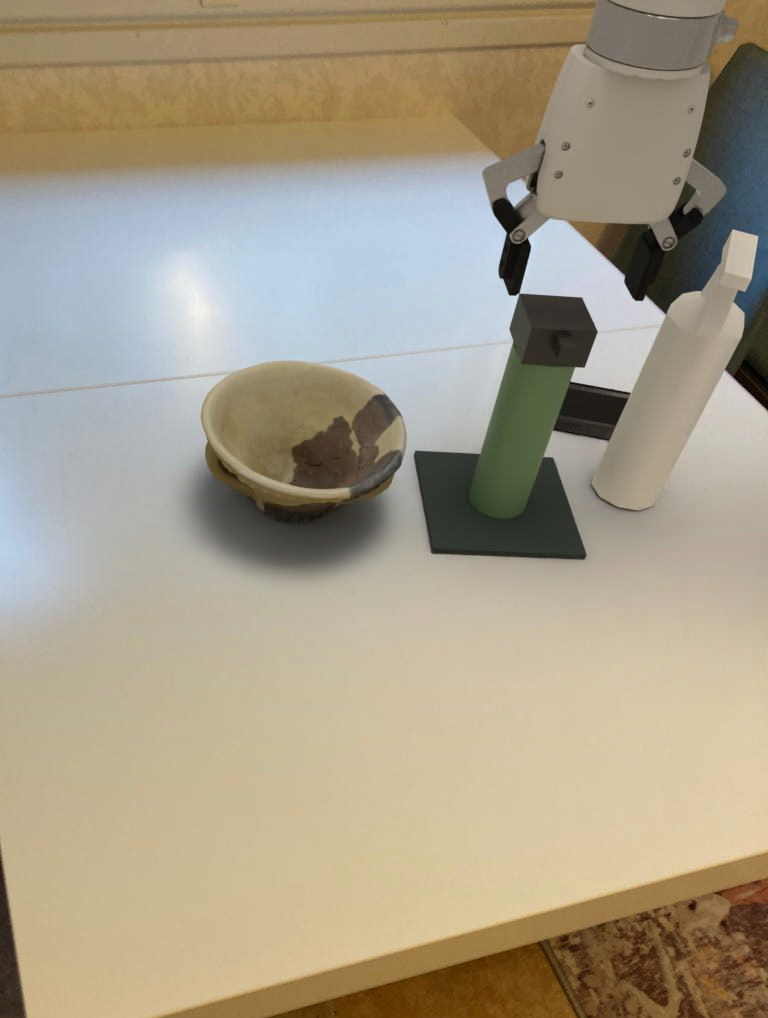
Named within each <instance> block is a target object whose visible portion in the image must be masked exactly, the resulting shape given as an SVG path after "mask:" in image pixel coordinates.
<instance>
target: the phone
mask: <svg viewBox="0 0 768 1018" xmlns="http://www.w3.org/2000/svg"><path fill="white" fill-rule="evenodd" d="M630 394H631V392H630V391H624V390H618V389H613V388H609V387H603V386H596V385H593V384H587V383H580V382H576V381H570V384H569V387H568V389H567V392H566V395H565V398H564V401H563V403H562V406H561V409H560V412H559V415H558V417H557V420H556V423H555V426H554V429H553V430H558V431H563V432H568V433H575V434H579V435H580V434H581V435H585V436H589V437H590V436H591V437H595V438H601V439H607V440H610V439H611V436H612V434H613V432H614V430H615V427H616V425H617V423H618V421H619V419H620V416H621V414H622V412H623V410H624V407H625V405H626V403H627V401H628V399H629V396H630Z"/></svg>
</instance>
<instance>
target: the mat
mask: <svg viewBox="0 0 768 1018" xmlns="http://www.w3.org/2000/svg"><path fill="white" fill-rule="evenodd" d="M479 456H480V453H473V452H472V453H471V452H455V451H454V452H452V451H432V450H414V454H413V457H414V463H415V468H416V472H417V473H416V475H417V478H418V484H419V489H420V494H421V499H422V500H421V501H422V505H423V510H424V511H423V512H424V516H425V522H426V527H427V532H428V538H429V543H430V548H431V553H432V554H450V555H452V554H453V555H472V556H473V555H474V556H475V555H476V556H495V557H496V556H497V557H499V556H501V557H520V558H521V557H522V558H547V559H573V560H576V559H577V560H585V559H586V557H587V552H586V549H585V545H584V543H583V540H582V536H581V534H580V531H579V528H578V525H577V523H576V520H575V516H574V514H573V510H572V508H571V505H570V502H569V498H568V496H567V493H566V490H565V488H564V484H563V482H562V479H561V476H560V473H559V471H558V467H557V463H556V461H555V458H554V457H552V456H551V457H550V456H543V459H542V462H541V465H540V468H539V470H538V473H537V476H536V479H535V482H534V484H533V487H532V490H531V493H530V496H529V498H528V501H527V504H526V507H525V509H524V511H523V512H522V513H521V514H520V515H519V516H517V517H514V518H510V519H497V518H492V517H489V516H486V515H484V514H482V513H480V512H479V511H478V510H476V509H475V508H474V507H473V506H472V504H471V503H470V500H469V490H470V487H471V484H472V480H473V477H474V473H475V470H476V467H477V463H478V460H479Z"/></svg>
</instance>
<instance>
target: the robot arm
mask: <svg viewBox="0 0 768 1018" xmlns="http://www.w3.org/2000/svg"><path fill="white" fill-rule="evenodd" d="M726 2H727V0H596V2H595V5H594V10H593V13H592V18H591V20H590V25H589V29H588V33H587V36H586V41H585V44H584V43H583V44H582V43H581V44H574V45H573V46H571V48H570V49H569V52H568V54H567V56H566V58H565V61H564V63H563V64H562V67H561V70H560V71H559V74H558V76H557V79H556V82H555V84H554V87H553V90H552V92H551V95H550V97H549V100H548V102H547V106H546V108H545V112H544V114H543V118H542V121H541V123H540V127H539V129H538V132H537V136H536V139H535V142H534V145H533V146H531V147H529V148H526V149H524V150H521V151H520V152H517V153H515V154H512V155H511V156H509V157H506V158H503V159H501V160H499V161H497V162H494V163H493V164H489V165H488V166H486V167H484V169H483V170H482V172H481V176H482V181H483V185H484V188H485V192H486V195H487V199H488V203H489V206H490V208H491V212H492V213H493V216H494V217H495V219H496V220H497V222H498V223H499V224H500V226H501V227H502V229H503V230H504V232H505V233H506V234H505V238H504V243H503V246H502V251H501V254H500V259H499V263H498V273H497V274H498V277H499V279H500V280H503V283H504V286H505V289H506V292H507V294H508V296H510V297H511V296H513V297H514V296H515V297H517V296H518V295H519V294H520V293H521V290H522V286H523V282H524V278H525V275H526V271H527V266H528V263H529V259H530V255H531V251H532V245H531V242H530V240H529V238H530V237H531V236H532V235H533V234H535V232H536V231H538V230H539V229H540V228H541V227H542V226H543V225H544V224H546V223H547V222H548V221H549V220H556V221H566V222H583V223H584V222H585V223H602V224H603V223H605V224H625V225H626V224H627V225H647V227H648V229H647V231H642V232H641V235H640V234H639V235H638V238H637V241H636V244H635V246H634V250H633V253H632V255H631V259H630V261H629V264H628V267H627V270H626V273H625V276H624V280H623V283H624V285H625V287H626V289H627V291H628V293H629V294H630V296H631V298H632V299H633V300H634V301H635V302H643V301H644V300H645V298H646V295H647V292H648V290H649V287H650V286H653V285H654V284H655V283H656V280H657V277H658V274H659V273H660V272H659V271H660V269H661V267H662V263H663V261H664V258H665V255H666V252H667V251H671V250H673V249H674V248H675V247H676V246H677V244H678V240H680V239H682V238H683V237H684V236H686V235H687V234H689V233H690V232H692V231H693V230H694V229H696V228H698V226H699V225H701V224H702V222H703V220H704V217H705V216H706V214H709V213H710V212H711V211H712V209H714V208H715V206H716V205H717V204H718V203H719V202H720V201H721V200H722V198H723V197H724V196H725V195H726V194H727V190H728V189H727V186H726V185H725V184H724V182H723V181H722V180H721V179H720V178H719V177H718V176H716V175H715V174H714V173H713V172H712V171H710V170H709V169H708V168H706V167H705V166H704V165H702V164H701V163H700V162H699V161H697V160H696V159H695V158H694V154H695V151H696V148H697V144H698V140H699V135H700V132H701V127H702V123H703V119H704V115H705V109H706V104H707V99H708V93H709V87H710V80H711V73H712V67H711V65H710V63H708V61H707V59H710V56H711V54H712V51H713V49H714V46H715V45H720V44H721V43H727V44H729V43H731V42H732V41H733V40H734V39H735V37H736V35H737V31H738V27H739V20H738V18H737V17H733V16H730V17H729V16H727V14H726V10H725V9H724V7H725V5H726ZM524 178H525V188H526V190H527V191H528V192H529V193H528V194H526V195H525V196H524V197H523V198H522V199H521V200H520V201H519V202H517V203H516V204H515V205H513V204H512V202H511V201H510V199H508V193H507V188H508V186H509V185H510V184H512V183H514V182H516V181H519V180H521V179H524ZM685 183H687V184H688V185H690V186H691V187H692V188H694V190H695V192H694V194H693V195H692V196H691V197H690V198H691V199H690V200H689V201H686V202H684V203H683V204H681V205H680V206H679V207H678V208H676V207H677V204H678V202H679V199H680V197H681V195H682V192H683V189H684V186H685ZM675 208H676V209H675Z"/></svg>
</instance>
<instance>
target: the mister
mask: <svg viewBox="0 0 768 1018" xmlns="http://www.w3.org/2000/svg"><path fill="white" fill-rule="evenodd" d="M509 333H510V336H511V339H512V344H511V347H510V350H509V355H508V358H507V361H506V364H505V368H504V371H503V375H502V379H501V382H500V384H499V385H500V386H499V388H498V391H497V395H496V398H495V402H494V405H493V409H492V412H491V415H490V419H489V423H488V425H487V429H486V432H485V436H484V440H483V442H482V446H481V450H480V453H479V454H480V456H479V460H478V463H477V467H476V470H475V473H474V477H473V480H472V484H471V487H470V490H469V500H470V503H471V504H472V506H473V507H474V508H475V509H476V510H478V511H479V512H480V513H482V514H484V515H486V516H489V517H492V518H497V519H510V518H514V517H517V516H519V515H520V514H521V513H522V512H523V511H524V509H525V507H526V504H527V501H528V498H529V496H530V493H531V490H532V487H533V484H534V482H535V479H536V476H537V473H538V470H539V468H540V465H541V462H542V459H543V457H545V453H546V452H547V451H546V450H547V448H548V446H549V443H550V440H551V437H552V434H553V432H554V431H553V430H555V429H554V426H555V423H556V420H557V417H558V415H559V412H560V409H561V406H562V403H563V401H564V398H565V395H566V392H567V389H568V387H569V384H570V382H572V379H573V375H574V373H575V369H576V368H578V369H579V368H581V369H585V368H586V366H587V362H588V360H589V357H590V355H591V352H592V349H593V346H594V344H595V341H596V338H597V336H598V333H599V331H598V329H597V327H596V325H595V322H594V320H593V317H592V316H591V313H590V311H589V309H588V307H587V305H586V303H585V301H584V298H583V297H582V296H564V295H553V294H552V295H550V294H536V293H535V294H534V293H521V292H520V293H519V294H518V297H517V299H516V304H515V307H514V311H513V314H512V317H511V321H510V326H509Z"/></svg>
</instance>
